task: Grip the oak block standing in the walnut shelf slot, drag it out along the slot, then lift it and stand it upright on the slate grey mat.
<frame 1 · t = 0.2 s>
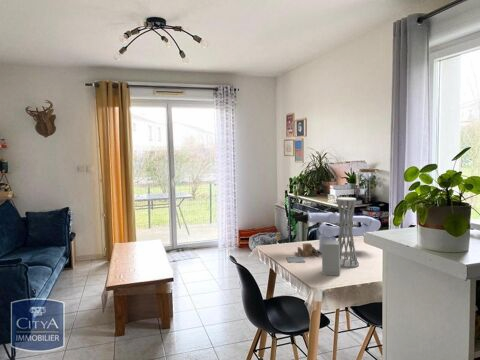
hand: (293, 217, 208), 21 cm above the table, tool horizontal, fingers open, 7 cm apart
oak block: (307, 254, 205), on the table
skincare box: (330, 274, 172), on the table
vase: (345, 264, 187), on the table
slate mat: (295, 259, 195), on the table
shelf slot: (307, 254, 205), on the table
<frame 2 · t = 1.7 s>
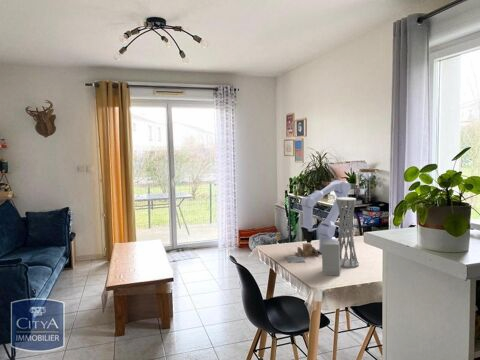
hand: (307, 241, 204), 8 cm above the table, tool pointing down, fingers open, 7 cm apart
nothing on the table moved.
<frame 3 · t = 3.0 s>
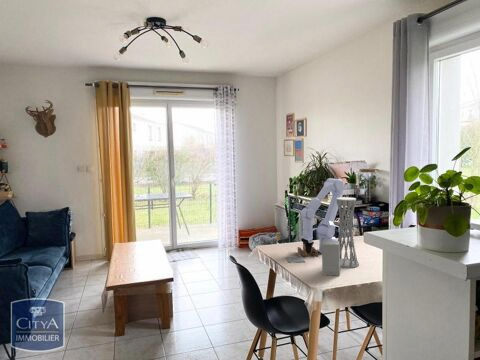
hand: (307, 252, 205), 1 cm above the table, tool pointing down, fingers closed on oak block, 4 cm apart
oak block: (307, 254, 205), on the table, touching gripper
everything else where it was.
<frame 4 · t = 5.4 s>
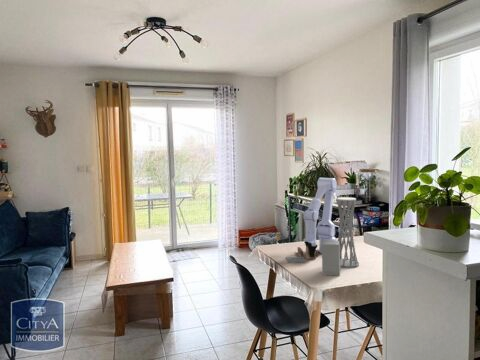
hand: (310, 255, 197), 2 cm above the table, tool pointing down, fingers closed on oak block, 4 cm apart
oak block: (310, 258, 197), on the table, touching gripper
everything else where it was.
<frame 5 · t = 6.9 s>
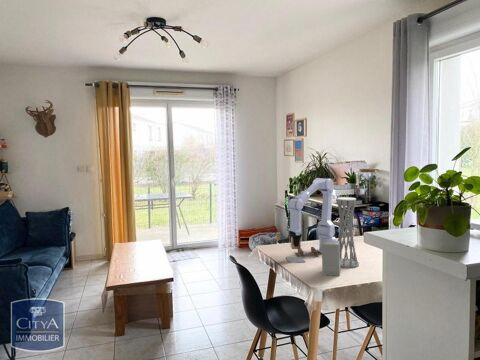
hand: (295, 245, 194), 8 cm above the table, tool pointing down, fingers closed on oak block, 4 cm apart
oak block: (295, 248, 194), point 7 cm above the table, touching gripper
everything else where it was.
when the fingers open (3 cm above the table, at t = 8.2 s): oak block drops 1 cm, resting on slate mat.
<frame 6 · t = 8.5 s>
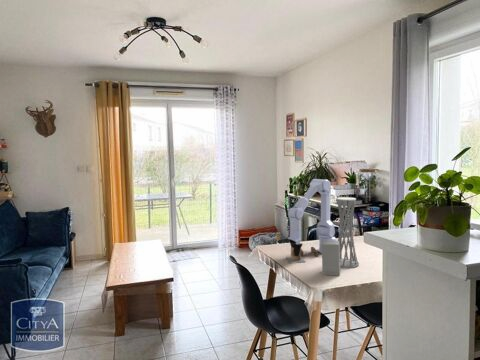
hand: (295, 253, 194), 3 cm above the table, tool pointing down, fingers open, 7 cm apart
oak block: (295, 259, 195), resting on slate mat
everything else where it was.
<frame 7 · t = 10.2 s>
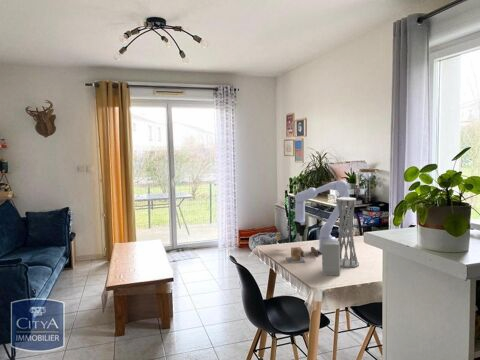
hand: (300, 234, 215), 9 cm above the table, tool pointing down, fingers open, 7 cm apart
nothing on the table moved.
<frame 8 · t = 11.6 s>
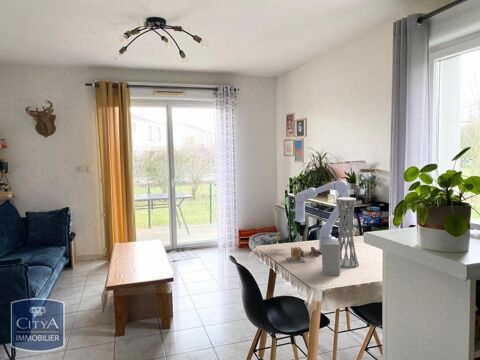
hand: (300, 234, 215), 9 cm above the table, tool pointing down, fingers open, 7 cm apart
nothing on the table moved.
at the end: oak block inside the target area (0.1 cm from its centre), resting on slate mat; oak block tilted 0°; the gripper is holding nothing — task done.
